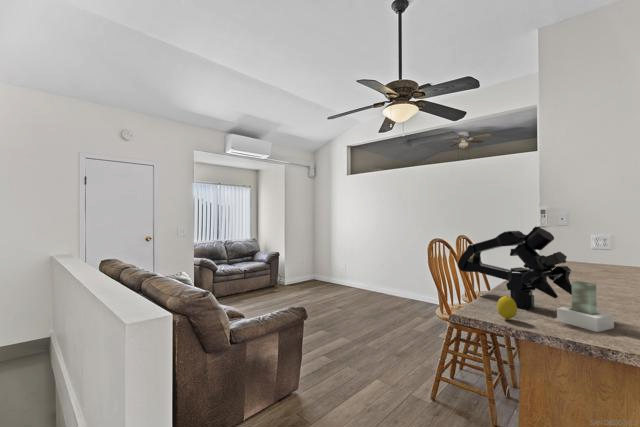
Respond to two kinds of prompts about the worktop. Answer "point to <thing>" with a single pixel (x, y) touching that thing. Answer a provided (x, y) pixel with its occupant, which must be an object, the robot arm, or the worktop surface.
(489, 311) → the worktop surface
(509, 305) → the lemon
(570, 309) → the white rectangular frame
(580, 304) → the slat
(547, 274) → the robot arm
